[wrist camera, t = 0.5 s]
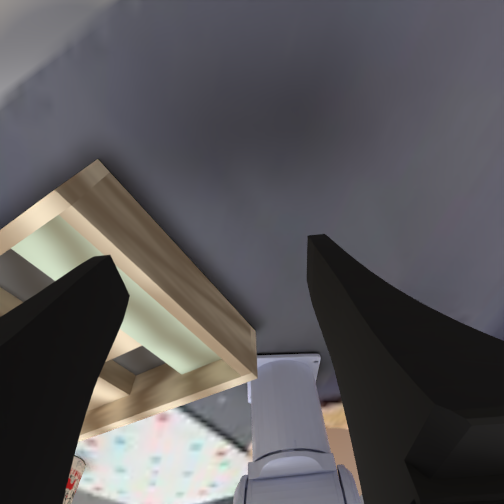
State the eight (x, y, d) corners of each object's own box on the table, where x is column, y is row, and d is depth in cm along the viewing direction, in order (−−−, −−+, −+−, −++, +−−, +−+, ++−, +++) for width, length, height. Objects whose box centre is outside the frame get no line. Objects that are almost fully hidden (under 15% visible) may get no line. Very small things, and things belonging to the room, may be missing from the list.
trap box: (97, 158, 18) (54, 189, 14) (255, 331, 28) (257, 378, 24) (-102, 306, 25) (-170, 356, 21) (83, 401, 35) (61, 447, 31)
